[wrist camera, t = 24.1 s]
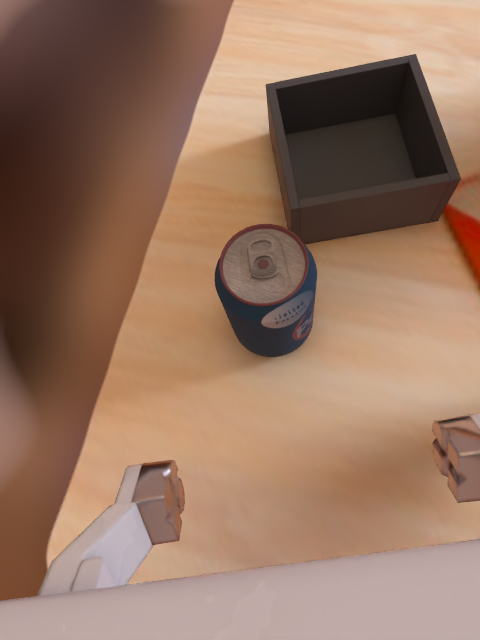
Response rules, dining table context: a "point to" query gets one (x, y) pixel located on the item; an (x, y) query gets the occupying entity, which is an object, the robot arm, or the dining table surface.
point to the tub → (359, 150)
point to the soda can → (267, 288)
